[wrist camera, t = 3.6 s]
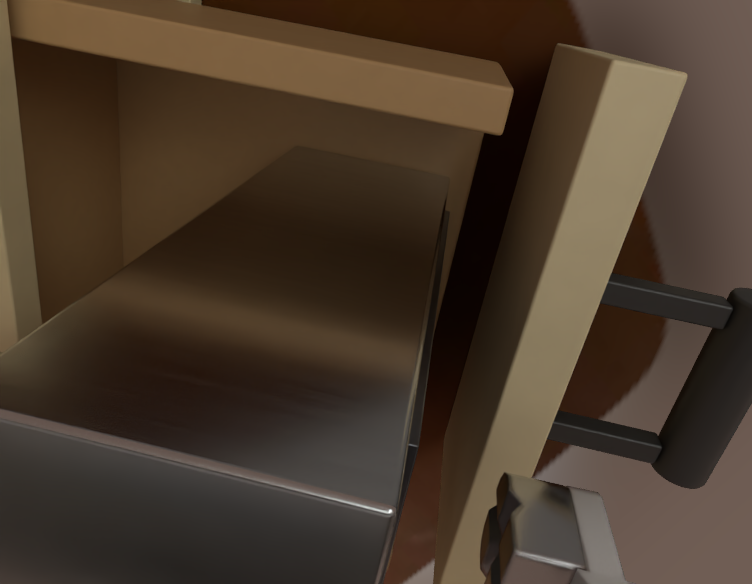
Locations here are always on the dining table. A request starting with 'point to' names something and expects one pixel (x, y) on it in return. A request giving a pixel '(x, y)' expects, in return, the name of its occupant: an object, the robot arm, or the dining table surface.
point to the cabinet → (15, 209)
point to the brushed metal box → (233, 391)
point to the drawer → (390, 146)
